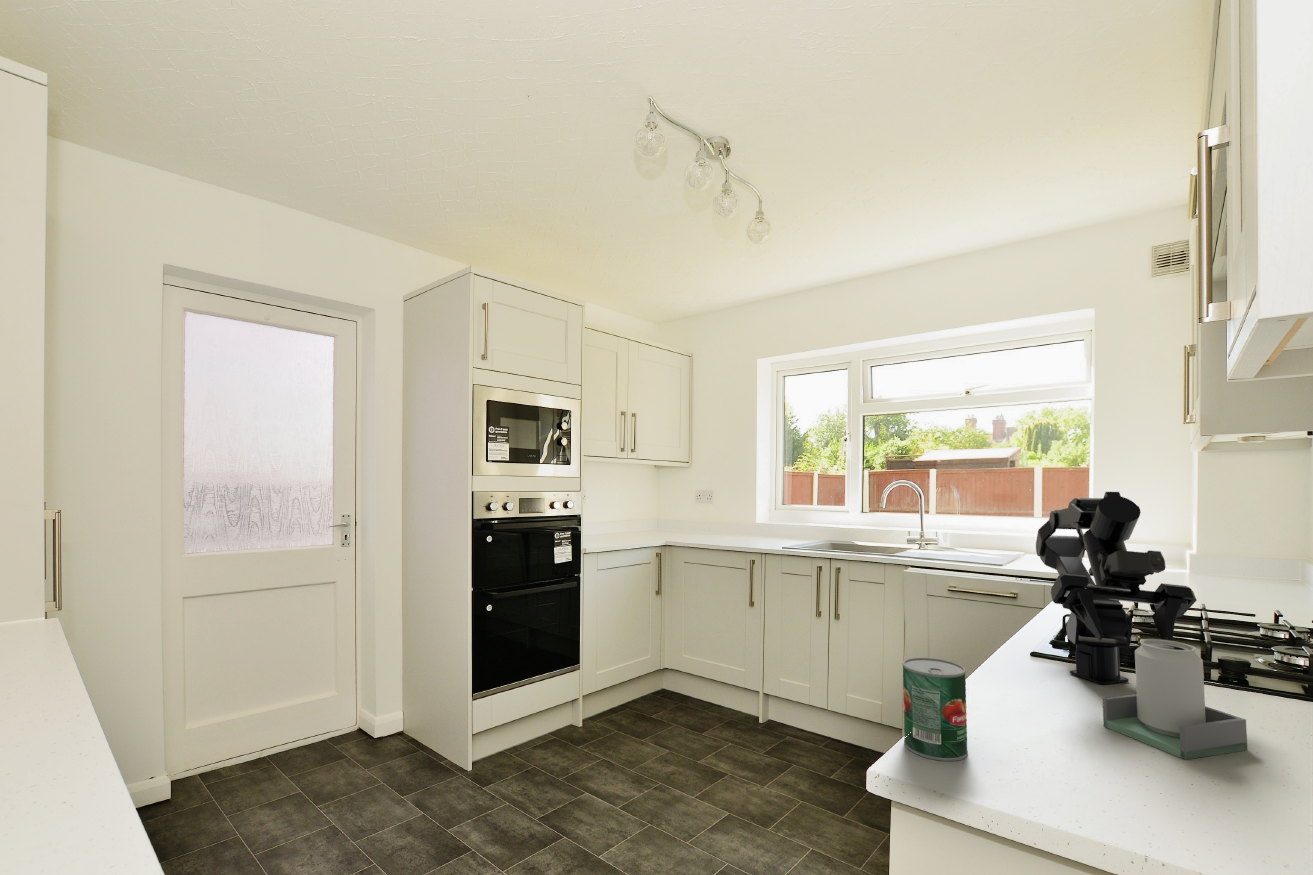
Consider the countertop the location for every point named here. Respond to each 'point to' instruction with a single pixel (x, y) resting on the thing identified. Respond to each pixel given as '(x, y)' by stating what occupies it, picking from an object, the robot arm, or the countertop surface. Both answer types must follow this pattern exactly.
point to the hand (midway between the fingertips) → (1134, 642)
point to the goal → (1194, 740)
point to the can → (1169, 686)
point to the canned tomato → (935, 708)
